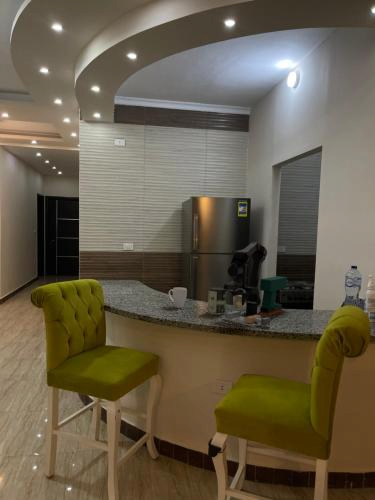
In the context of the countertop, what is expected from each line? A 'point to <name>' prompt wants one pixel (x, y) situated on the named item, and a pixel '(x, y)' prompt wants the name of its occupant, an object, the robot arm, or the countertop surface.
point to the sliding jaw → (257, 319)
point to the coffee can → (217, 300)
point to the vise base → (238, 319)
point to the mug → (178, 296)
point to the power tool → (271, 294)
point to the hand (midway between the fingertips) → (239, 304)
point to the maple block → (238, 302)
